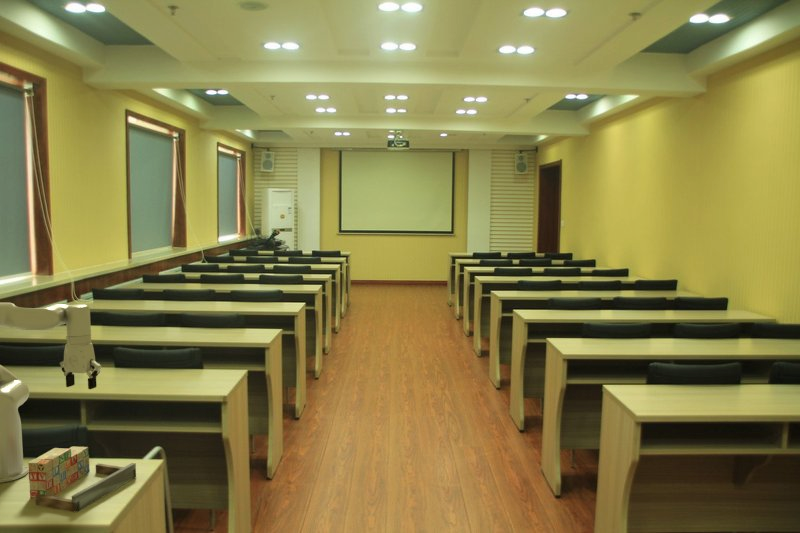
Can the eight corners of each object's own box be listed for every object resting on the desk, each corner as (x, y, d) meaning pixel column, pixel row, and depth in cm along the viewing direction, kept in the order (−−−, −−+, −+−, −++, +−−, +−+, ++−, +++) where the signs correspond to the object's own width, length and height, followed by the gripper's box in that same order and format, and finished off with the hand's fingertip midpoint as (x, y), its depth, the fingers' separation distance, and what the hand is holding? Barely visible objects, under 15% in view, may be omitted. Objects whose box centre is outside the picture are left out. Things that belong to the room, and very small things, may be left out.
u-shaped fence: (35, 505, 192) (34, 489, 192) (98, 471, 217) (98, 457, 217) (76, 512, 188) (75, 496, 187) (136, 477, 213) (135, 463, 212)
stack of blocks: (74, 471, 218) (72, 437, 217) (90, 472, 217) (88, 438, 216) (29, 498, 197) (27, 461, 196) (47, 500, 196) (45, 463, 195)
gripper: (50, 340, 214) (53, 388, 215) (90, 343, 209) (92, 392, 210) (68, 336, 221) (70, 382, 222) (107, 339, 216) (109, 386, 217)
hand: (81, 387), depth 216 cm, fingers open, 9 cm apart
